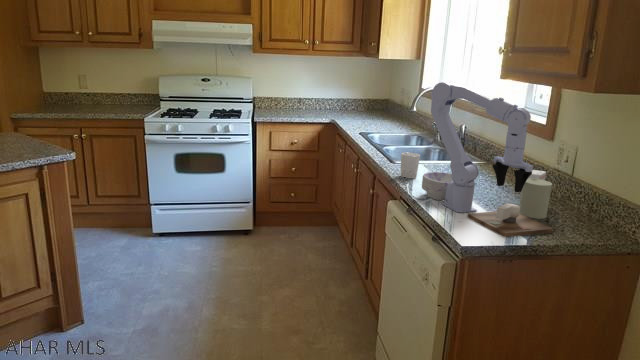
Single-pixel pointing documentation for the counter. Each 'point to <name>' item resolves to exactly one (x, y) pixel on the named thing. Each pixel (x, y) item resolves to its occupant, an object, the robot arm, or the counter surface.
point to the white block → (507, 211)
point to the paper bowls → (436, 184)
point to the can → (535, 198)
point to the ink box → (538, 175)
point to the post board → (510, 224)
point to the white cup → (409, 164)
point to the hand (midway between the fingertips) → (509, 188)
